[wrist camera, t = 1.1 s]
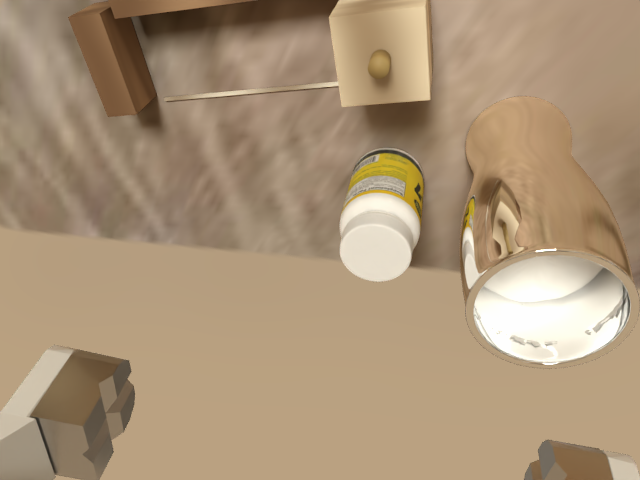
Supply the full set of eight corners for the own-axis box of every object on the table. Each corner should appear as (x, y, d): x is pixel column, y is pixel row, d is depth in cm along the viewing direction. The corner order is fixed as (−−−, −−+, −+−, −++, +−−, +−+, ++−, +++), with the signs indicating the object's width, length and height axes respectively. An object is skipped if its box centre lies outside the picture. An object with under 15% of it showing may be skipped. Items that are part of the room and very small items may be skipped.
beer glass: (434, 147, 36) (425, 312, 24) (520, 63, 32) (559, 212, 20) (513, 210, 37) (541, 394, 26) (605, 137, 33) (687, 316, 22)
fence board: (421, -76, 29) (418, -65, 26) (429, 77, 33) (427, 97, 31) (84, -24, 33) (56, -11, 31) (131, 103, 38) (110, 123, 36)
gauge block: (429, -23, 30) (424, 13, 25) (433, 61, 33) (429, 109, 27) (345, -12, 31) (324, 25, 26) (356, 68, 34) (338, 116, 29)
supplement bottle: (417, 213, 39) (410, 295, 32) (349, 201, 39) (328, 280, 33) (431, 151, 36) (426, 227, 29) (357, 139, 36) (336, 212, 30)
